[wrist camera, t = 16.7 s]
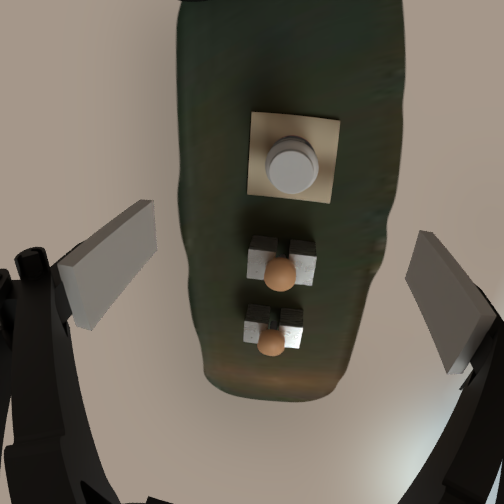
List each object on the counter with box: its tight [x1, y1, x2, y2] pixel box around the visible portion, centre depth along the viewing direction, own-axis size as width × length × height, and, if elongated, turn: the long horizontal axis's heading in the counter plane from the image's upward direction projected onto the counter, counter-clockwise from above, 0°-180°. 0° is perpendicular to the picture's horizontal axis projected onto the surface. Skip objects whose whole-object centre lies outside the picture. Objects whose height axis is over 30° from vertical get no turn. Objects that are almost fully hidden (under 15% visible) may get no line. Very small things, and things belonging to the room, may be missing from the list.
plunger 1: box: [264, 254, 296, 291], centre depth 37 cm, size 4×4×5 cm
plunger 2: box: [258, 320, 285, 356], centre depth 42 cm, size 4×4×5 cm
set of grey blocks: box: [244, 235, 317, 348], centre depth 41 cm, size 15×8×4 cm, turn 177°
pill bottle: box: [265, 135, 319, 194], centre depth 30 cm, size 5×5×9 cm
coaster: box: [247, 112, 340, 203], centre depth 34 cm, size 10×10×1 cm
